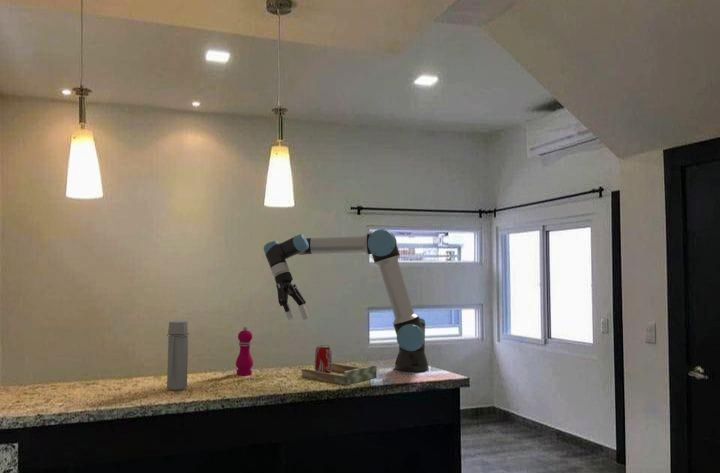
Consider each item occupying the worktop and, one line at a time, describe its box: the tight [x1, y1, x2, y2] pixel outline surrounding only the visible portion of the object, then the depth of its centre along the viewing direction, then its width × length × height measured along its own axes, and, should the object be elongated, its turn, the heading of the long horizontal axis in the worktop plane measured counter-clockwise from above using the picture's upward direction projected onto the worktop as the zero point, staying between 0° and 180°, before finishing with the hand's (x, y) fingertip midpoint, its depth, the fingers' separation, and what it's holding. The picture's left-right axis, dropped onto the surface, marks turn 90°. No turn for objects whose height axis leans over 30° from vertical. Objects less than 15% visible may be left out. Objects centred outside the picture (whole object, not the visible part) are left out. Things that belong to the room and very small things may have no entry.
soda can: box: [314, 344, 333, 374], centre depth 264 cm, size 7×7×12 cm
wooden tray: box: [301, 362, 378, 385], centre depth 259 cm, size 20×24×5 cm
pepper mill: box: [235, 326, 254, 377], centre depth 261 cm, size 7×7×20 cm
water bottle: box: [166, 320, 190, 392], centre depth 229 cm, size 9×8×25 cm
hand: (299, 318), depth 268 cm, fingers open, 13 cm apart
